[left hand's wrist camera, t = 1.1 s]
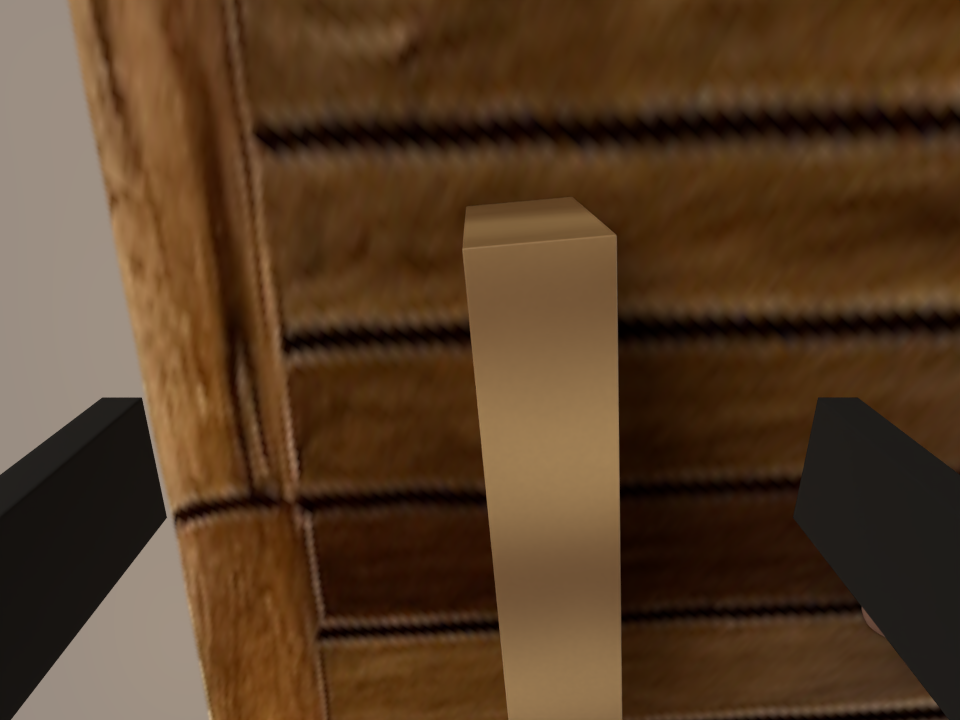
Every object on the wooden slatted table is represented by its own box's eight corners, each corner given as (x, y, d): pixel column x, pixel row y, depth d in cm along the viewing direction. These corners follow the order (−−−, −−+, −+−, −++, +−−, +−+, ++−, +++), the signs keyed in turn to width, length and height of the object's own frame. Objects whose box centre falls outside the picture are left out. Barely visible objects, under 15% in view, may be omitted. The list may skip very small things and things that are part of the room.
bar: (465, 206, 27) (462, 248, 19) (572, 196, 27) (617, 234, 18) (508, 655, 36) (518, 820, 27) (588, 649, 36) (623, 813, 27)
